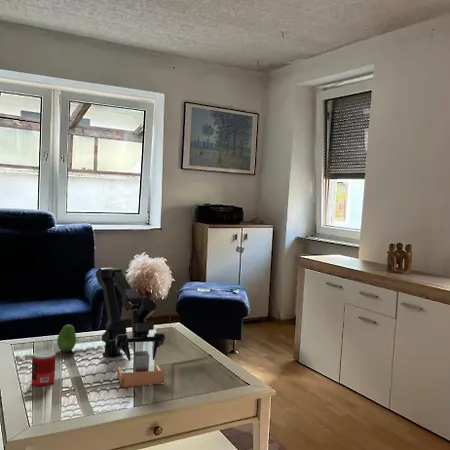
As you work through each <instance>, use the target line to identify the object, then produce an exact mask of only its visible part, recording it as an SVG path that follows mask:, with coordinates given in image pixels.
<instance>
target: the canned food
mask: <svg viewBox="0 0 450 450" xmlns="http://www.w3.org/2000/svg"><path fill="white" fill-rule="evenodd" d="M56 355H57V354H56V351H55V350H50V349H44V350H43V349H42V350H38V351H35V352H34V353H33V354H32V357H31V360H32V362H31V384H32V386H34V387H47V386H51V385H52V384H54V381H55V374H56V373H55V372H56V359H57V358H56Z"/></svg>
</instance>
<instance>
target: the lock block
mask: <svg viewBox="0 0 450 450" xmlns="http://www.w3.org/2000/svg"><path fill="white" fill-rule="evenodd" d="M149 368H150V354H149V352H148V350H137V351H134V352H133V365H132V372H146V371H149Z"/></svg>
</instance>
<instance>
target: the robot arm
mask: <svg viewBox="0 0 450 450" xmlns="http://www.w3.org/2000/svg"><path fill="white" fill-rule="evenodd" d="M95 277H96V280H97V283H98V285H99V286H100V287H101V288H102V292H103V297H104V303H105V309H106V316H107V322H106V324H105V331H104V332H103V334H102V335H101V340H102V342H103V343H105V344H104V352H103V353H102V356H105V357H108V358H112V359H113V358H117V357H118V356H122V355H123V354H124V355H125V356H126V359H127V360H128V362H131V352H130V346H129V343H149V342H151V343H152V346H151V347H152V348H151V349H152V350H151V351H152V354H151V355H152V361H155V359H156V354H157V350H158V348H160V347H161V346H163V345H164V342H165V340H166V336H165V333H164V332H154V333H153V336H149V334H150V333H149V332H150V330H151V331H153V330H155V323H154V321H153V320H151V321H150V320H148V322H147V318H149V317H150V316H151V315H152V314H153V313H154V312H155V311H156V309H157V304H156V302H155V301H154V300H152V299H150V298H149V296H144V297H143V298H142V295H140V294H139V293H138V292H137V291H135V290H133V288H132V287H131V285H130V284H129V282H128V280H127V279H126V277H125V275H124V273H123V270H122V268H114V267H113V266H112V267H98V269H97V270H96V271H95ZM115 286H116V288H117V291H119V293H120V295H121V297H122V298H121V303H122V306H123V308H124V310H125V311H128V312H130V311H131V313H130V316H129V320H130V319H131V330H132V337H131V336H130V337H129V336H128V333H127V327H126V322H125V320H124V319H123V320H122V319H121V317H120V312H119V308H118V302H117V297H116V296H117V295H116V291H115ZM121 350H122V352H121Z"/></svg>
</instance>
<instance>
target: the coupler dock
mask: <svg viewBox="0 0 450 450" xmlns="http://www.w3.org/2000/svg"><path fill="white" fill-rule="evenodd" d="M154 367H155V369H154V370H152V371H149V370H148V371H146V372H133V371H132V372H130V371H129V372H122V368H121V367H120V366H119V367H117V373H116V375H117V378H118V382H119V384H120V387H121V388H132V387H142V386H143V385H146V386H151V385H150V384H160V385H162V384H161V383H164V384H165V373H166V372H165V370H162V369H161V368H160V367H159V365H158V364H155V366H154ZM143 387H144V386H143Z"/></svg>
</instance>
